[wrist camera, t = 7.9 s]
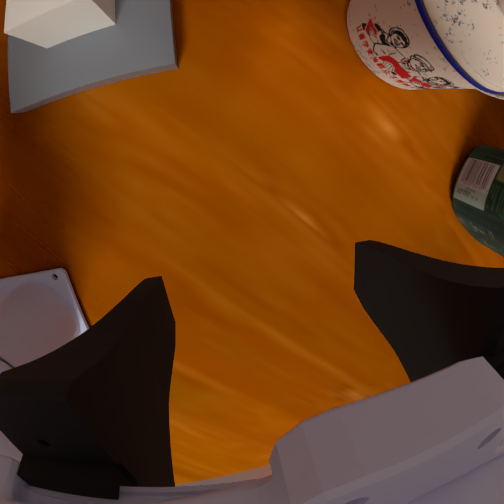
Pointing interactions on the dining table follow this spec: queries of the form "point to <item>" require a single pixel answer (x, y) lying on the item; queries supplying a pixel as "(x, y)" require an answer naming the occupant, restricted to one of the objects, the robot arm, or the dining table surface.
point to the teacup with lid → (431, 42)
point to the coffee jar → (482, 196)
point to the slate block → (93, 56)
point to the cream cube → (56, 19)
